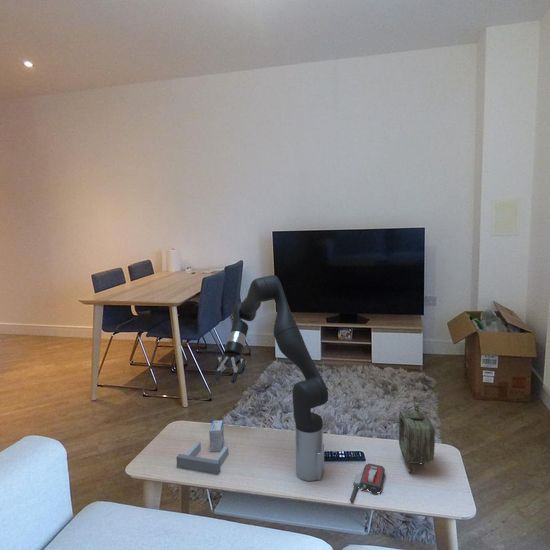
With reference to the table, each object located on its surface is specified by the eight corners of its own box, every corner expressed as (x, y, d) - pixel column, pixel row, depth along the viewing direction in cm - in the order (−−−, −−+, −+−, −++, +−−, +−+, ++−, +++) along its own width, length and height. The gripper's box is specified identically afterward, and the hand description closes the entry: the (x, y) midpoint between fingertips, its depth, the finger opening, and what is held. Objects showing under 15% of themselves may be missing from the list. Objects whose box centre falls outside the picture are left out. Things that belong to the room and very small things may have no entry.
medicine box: (221, 451, 155) (221, 430, 154) (210, 452, 155) (209, 430, 154) (224, 440, 163) (223, 420, 162) (213, 440, 163) (212, 420, 162)
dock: (232, 454, 153) (231, 444, 153) (218, 474, 141) (217, 464, 141) (193, 448, 158) (193, 438, 157) (176, 467, 146) (176, 456, 145)
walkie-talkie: (360, 467, 145) (347, 504, 127) (360, 455, 144) (347, 490, 126) (385, 473, 142) (376, 511, 123) (386, 461, 141) (376, 497, 123)
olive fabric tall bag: (398, 452, 153) (399, 388, 150) (423, 453, 152) (425, 389, 149) (406, 476, 139) (408, 406, 135) (434, 477, 138) (437, 407, 134)
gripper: (217, 339, 174) (205, 376, 164) (248, 341, 169) (238, 380, 160) (222, 347, 179) (211, 383, 170) (253, 349, 175) (244, 387, 166)
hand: (225, 381), depth 165 cm, fingers open, 6 cm apart
